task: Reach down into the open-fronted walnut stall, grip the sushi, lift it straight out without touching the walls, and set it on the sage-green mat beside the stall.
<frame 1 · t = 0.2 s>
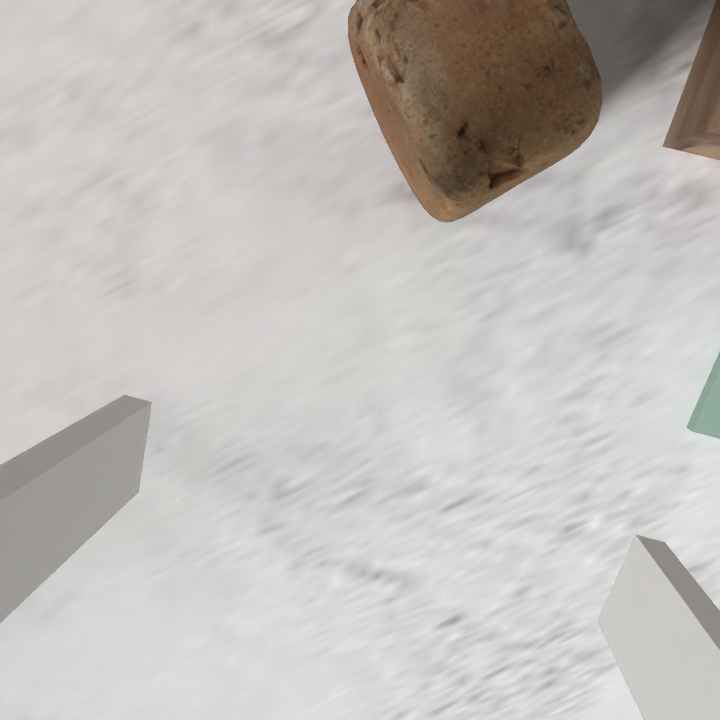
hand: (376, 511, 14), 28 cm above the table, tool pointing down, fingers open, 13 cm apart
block: (442, 138, 37), on the table
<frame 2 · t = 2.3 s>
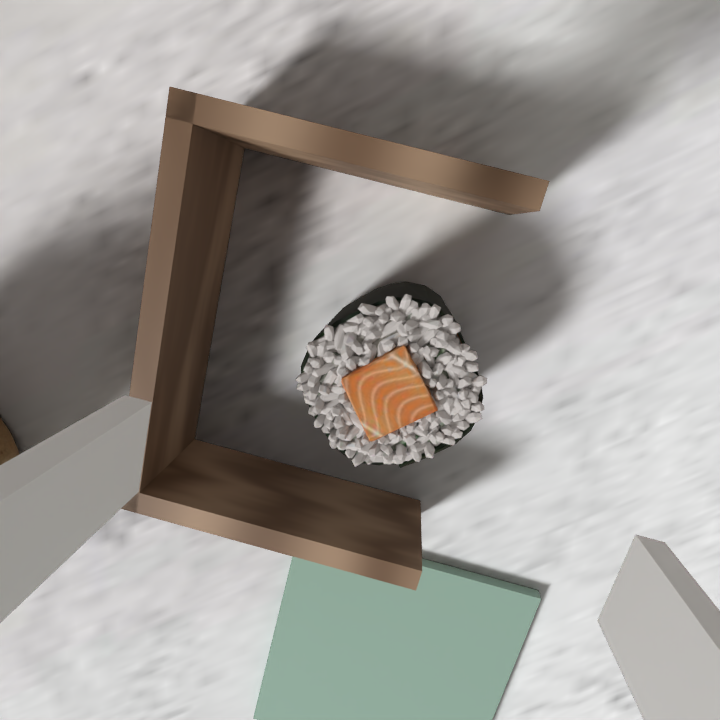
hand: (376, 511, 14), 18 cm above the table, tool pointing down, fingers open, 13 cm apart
mat: (388, 653, 36), on the table
sushi: (395, 350, 31), on the table
stall: (395, 351, 31), on the table
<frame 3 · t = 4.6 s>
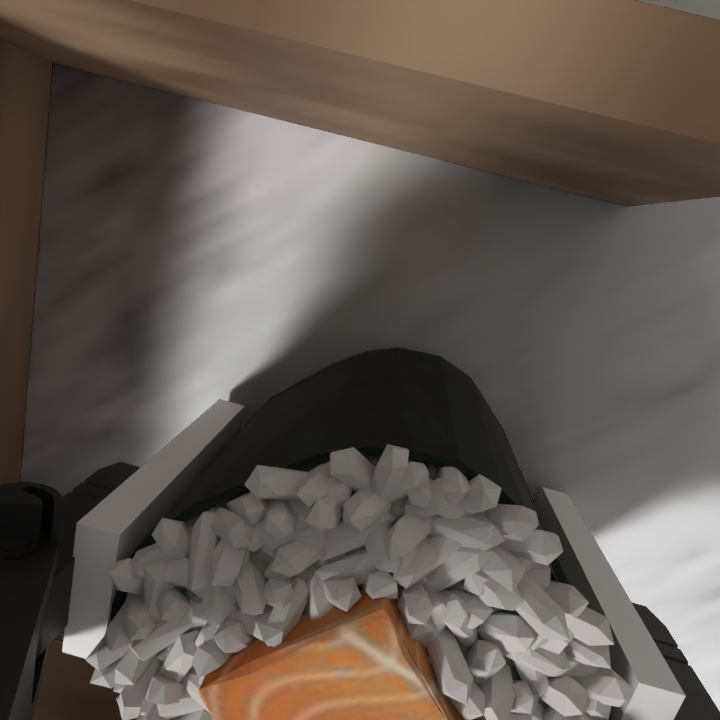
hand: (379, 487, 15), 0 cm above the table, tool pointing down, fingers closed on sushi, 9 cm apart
sushi: (379, 479, 15), on the table, touching gripper
stall: (379, 483, 15), on the table
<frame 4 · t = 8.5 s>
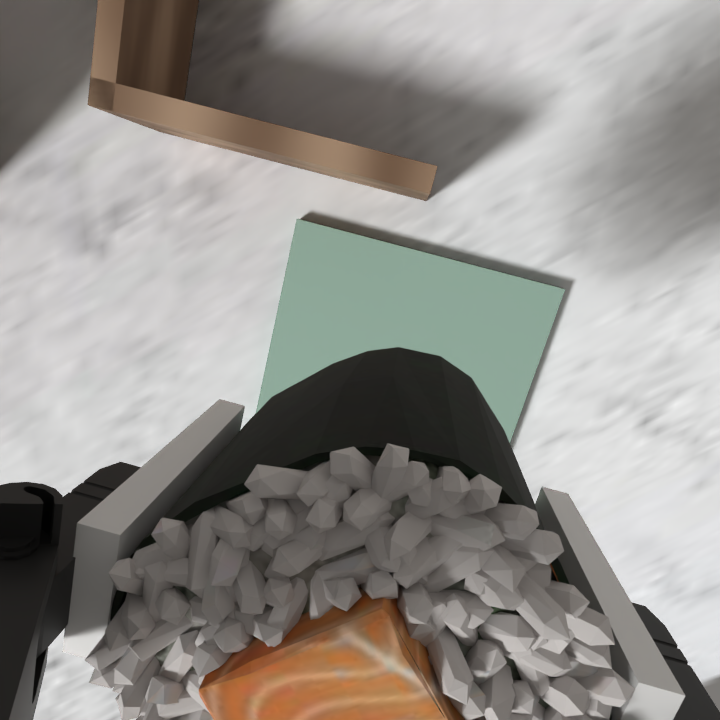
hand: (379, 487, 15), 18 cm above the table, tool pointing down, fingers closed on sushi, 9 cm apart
mat: (394, 377, 33), on the table
sushi: (379, 479, 15), point 18 cm above the table, touching gripper
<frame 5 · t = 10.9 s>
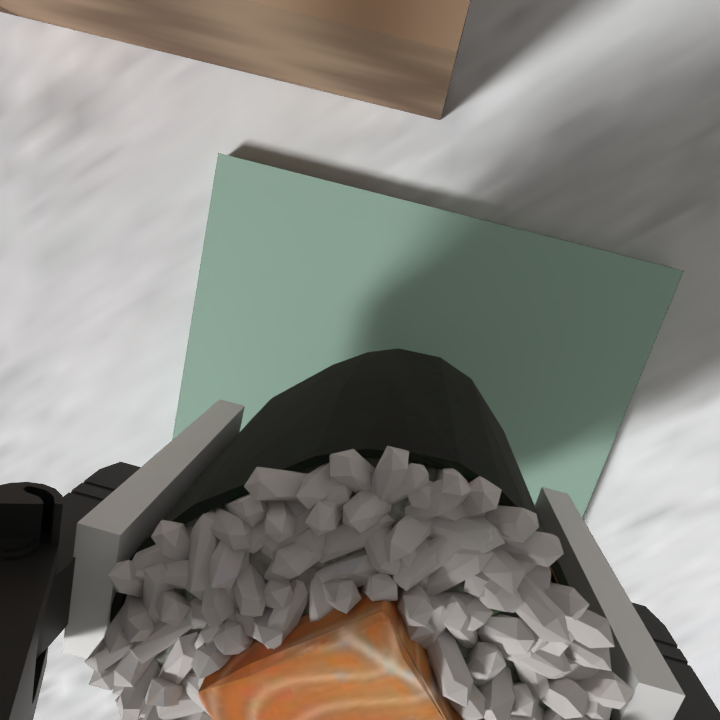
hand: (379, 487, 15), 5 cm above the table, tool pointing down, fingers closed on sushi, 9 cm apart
mat: (387, 418, 20), on the table
sushi: (379, 480, 15), point 5 cm above the table, touching gripper
when the fingers open (2 cm above the table, at t = 12.5 s): sushi drops 1 cm, resting on mat.
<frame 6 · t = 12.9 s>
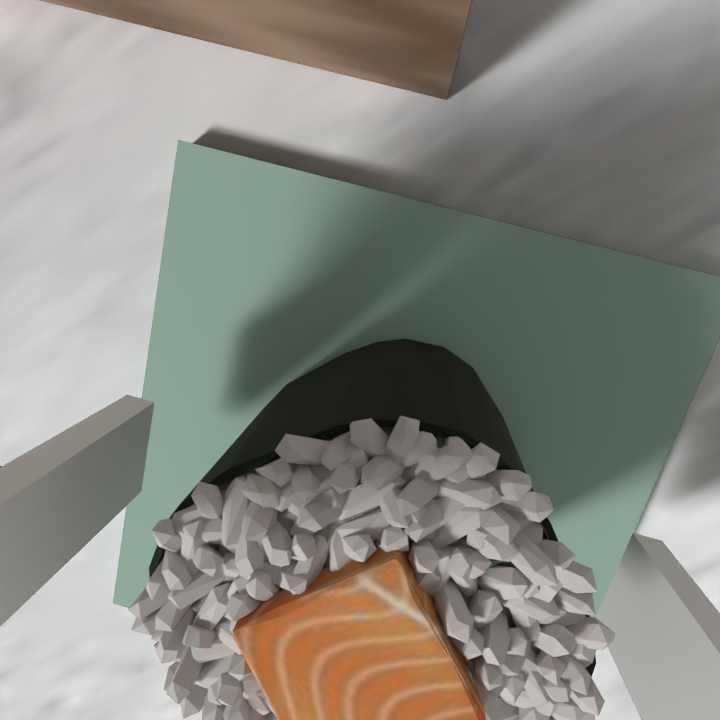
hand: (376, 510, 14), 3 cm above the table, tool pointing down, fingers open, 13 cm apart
mat: (383, 455, 17), on the table
sushi: (386, 462, 17), point 1 cm above the table, touching mat
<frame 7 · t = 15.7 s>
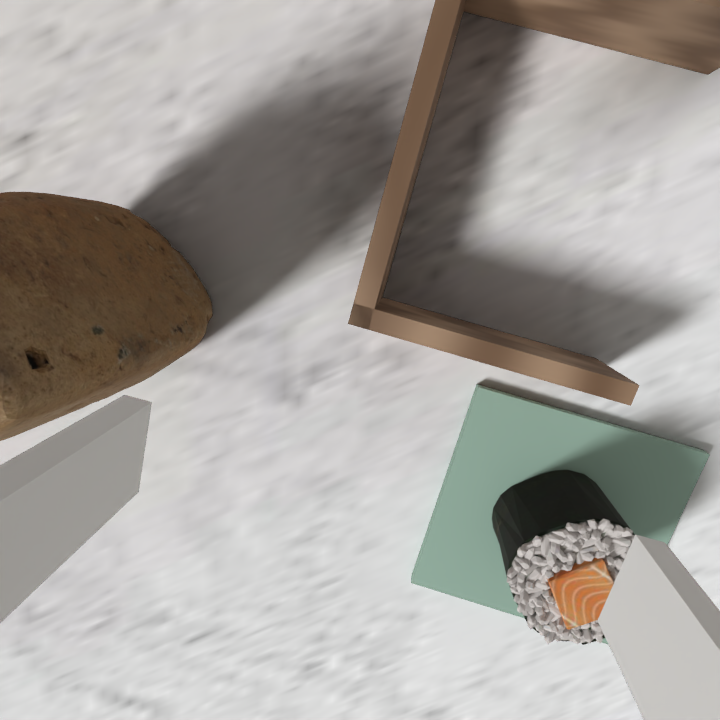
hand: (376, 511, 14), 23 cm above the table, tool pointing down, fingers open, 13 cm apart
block: (155, 289, 38), on the table
mat: (548, 516, 38), on the table
sushi: (552, 520, 37), point 1 cm above the table, touching mat
stall: (586, 208, 33), on the table
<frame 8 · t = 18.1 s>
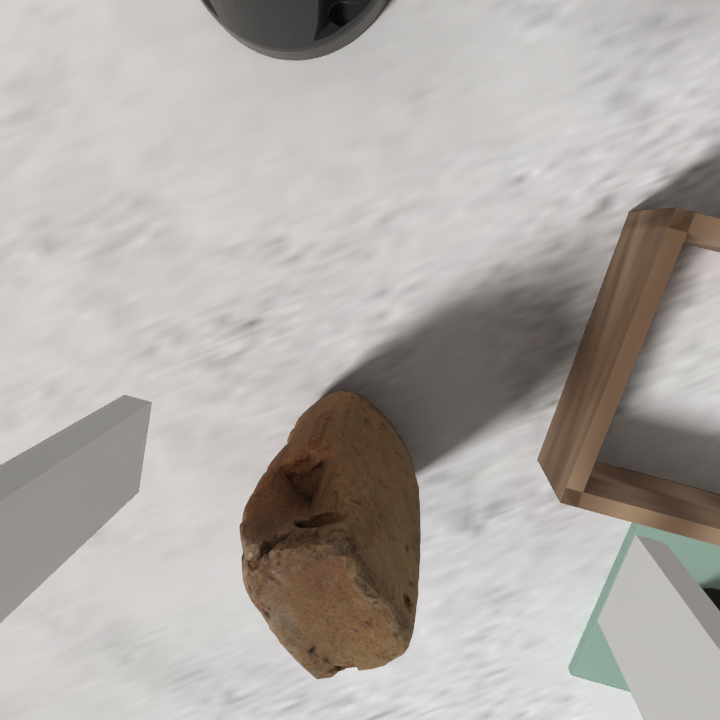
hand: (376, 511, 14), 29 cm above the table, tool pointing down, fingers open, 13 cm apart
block: (357, 442, 45), on the table
mat: (689, 621, 45), on the table
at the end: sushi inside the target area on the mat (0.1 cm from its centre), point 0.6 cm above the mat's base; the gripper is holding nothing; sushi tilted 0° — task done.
